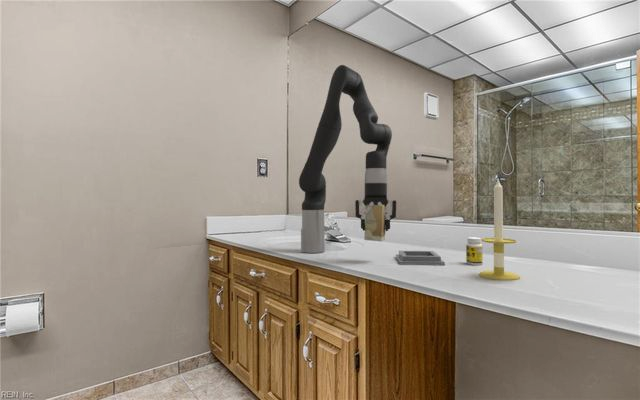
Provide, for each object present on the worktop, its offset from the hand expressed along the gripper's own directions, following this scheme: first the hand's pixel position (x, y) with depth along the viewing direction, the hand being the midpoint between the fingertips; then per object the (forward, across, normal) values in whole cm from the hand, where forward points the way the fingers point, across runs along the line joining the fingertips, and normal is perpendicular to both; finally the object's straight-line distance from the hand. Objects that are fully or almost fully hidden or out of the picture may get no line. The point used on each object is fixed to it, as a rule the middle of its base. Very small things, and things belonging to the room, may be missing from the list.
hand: (375, 230), depth 114 cm
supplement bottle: (+10, +32, -1) cm, 34 cm away
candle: (+10, +33, -18) cm, 39 cm away
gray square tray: (+10, +15, +3) cm, 18 cm away
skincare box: (+4, 0, 0) cm, 4 cm away
